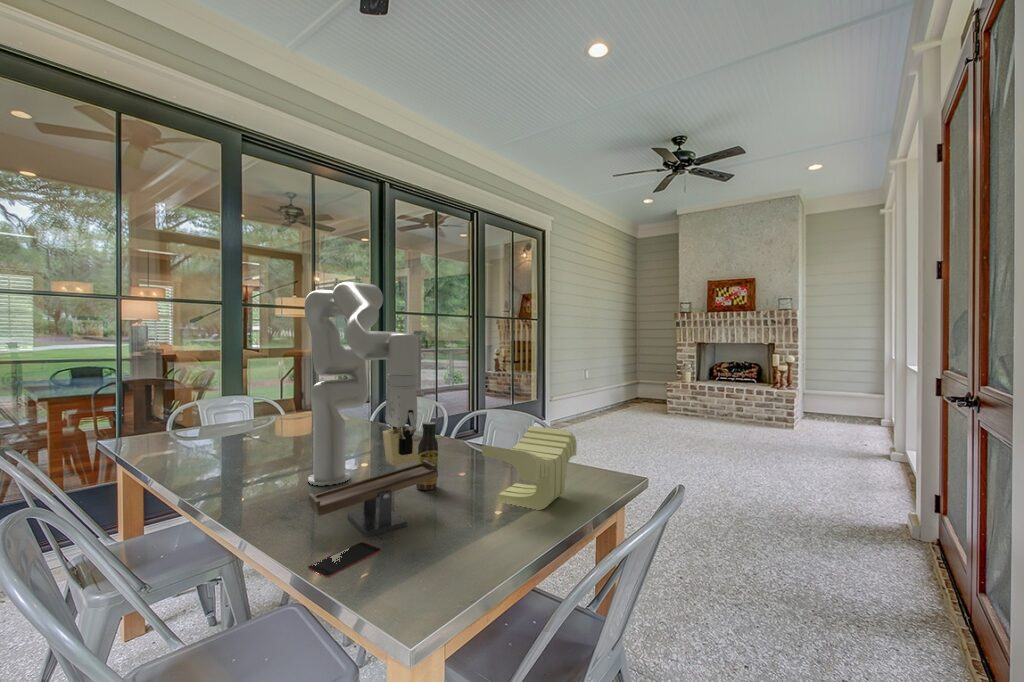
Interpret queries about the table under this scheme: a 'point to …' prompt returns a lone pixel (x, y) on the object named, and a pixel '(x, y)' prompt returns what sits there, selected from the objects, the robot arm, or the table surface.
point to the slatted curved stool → (536, 466)
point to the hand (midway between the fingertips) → (401, 450)
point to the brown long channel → (371, 487)
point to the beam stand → (377, 516)
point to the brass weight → (395, 447)
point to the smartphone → (345, 559)
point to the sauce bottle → (428, 452)
